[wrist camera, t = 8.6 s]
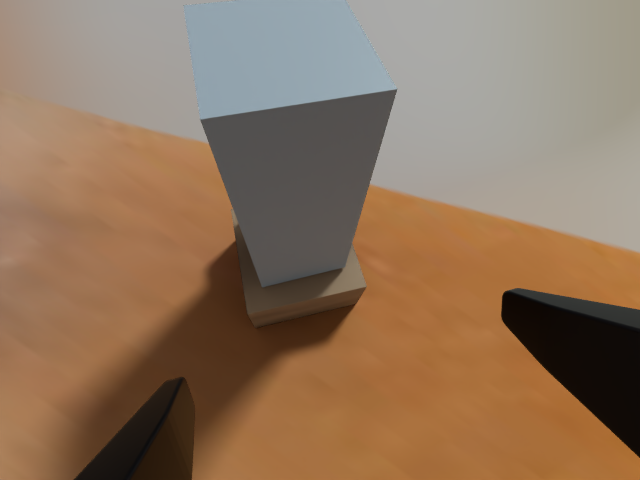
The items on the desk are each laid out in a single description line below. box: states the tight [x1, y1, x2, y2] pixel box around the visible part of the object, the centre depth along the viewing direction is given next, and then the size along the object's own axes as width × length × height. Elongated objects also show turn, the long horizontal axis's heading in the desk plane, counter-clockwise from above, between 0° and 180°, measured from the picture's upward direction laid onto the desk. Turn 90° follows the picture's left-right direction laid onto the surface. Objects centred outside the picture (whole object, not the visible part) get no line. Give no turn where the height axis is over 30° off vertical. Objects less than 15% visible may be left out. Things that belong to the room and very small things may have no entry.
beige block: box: [231, 209, 367, 328], centre depth 21 cm, size 7×7×4 cm
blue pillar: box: [184, 0, 397, 287], centre depth 14 cm, size 5×5×12 cm
